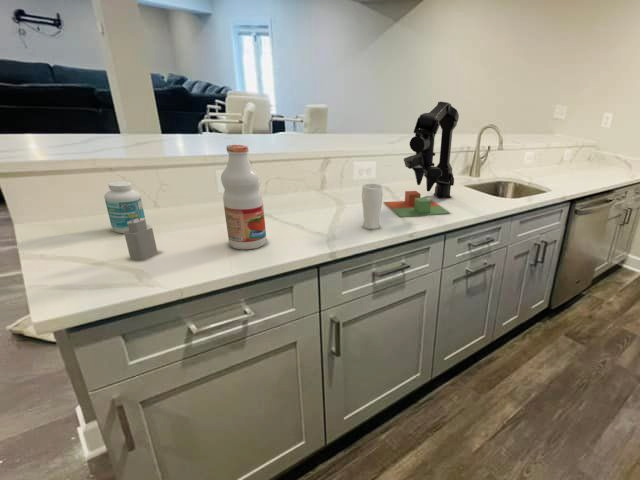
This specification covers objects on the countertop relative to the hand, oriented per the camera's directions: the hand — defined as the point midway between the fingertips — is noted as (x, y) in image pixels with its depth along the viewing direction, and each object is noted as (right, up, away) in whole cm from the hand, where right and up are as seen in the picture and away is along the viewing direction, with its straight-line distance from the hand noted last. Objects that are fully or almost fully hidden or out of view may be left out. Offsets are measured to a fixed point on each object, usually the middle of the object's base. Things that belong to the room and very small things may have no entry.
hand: (423, 188), depth 155 cm
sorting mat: (-4, -8, +7) cm, 11 cm away
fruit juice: (-45, -23, -43) cm, 66 cm away
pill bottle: (-78, -19, -45) cm, 92 cm away
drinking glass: (-16, -17, -19) cm, 30 cm away
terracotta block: (-6, -5, +11) cm, 13 cm away
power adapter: (-63, -27, -57) cm, 89 cm away
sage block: (-1, -9, +3) cm, 10 cm away
